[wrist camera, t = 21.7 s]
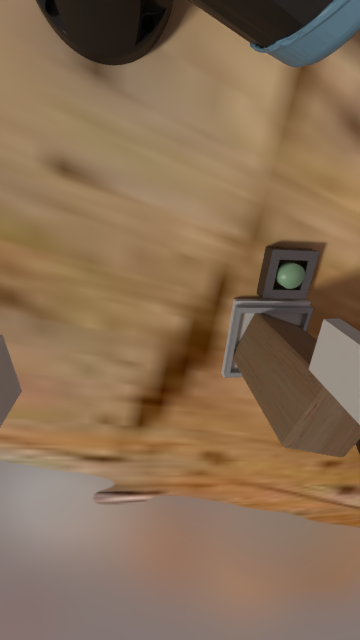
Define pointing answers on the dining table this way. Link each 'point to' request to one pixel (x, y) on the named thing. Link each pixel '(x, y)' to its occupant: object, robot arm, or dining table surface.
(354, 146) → the dining table surface
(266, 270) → the button housing
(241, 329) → the shallow gray tray
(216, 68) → the dining table surface
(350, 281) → the dining table surface
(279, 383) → the wooden block
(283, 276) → the button
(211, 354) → the dining table surface
